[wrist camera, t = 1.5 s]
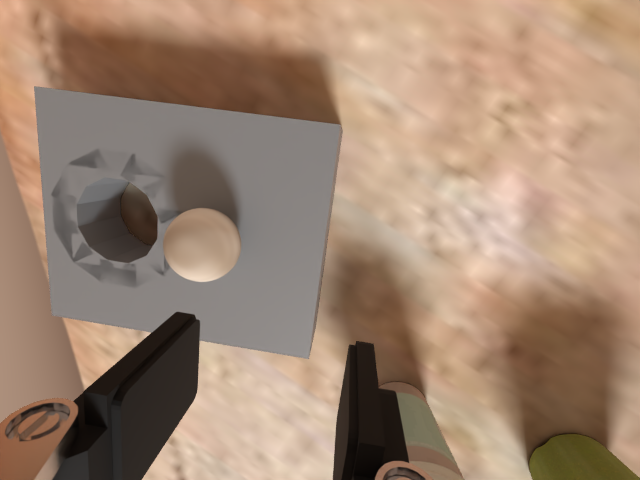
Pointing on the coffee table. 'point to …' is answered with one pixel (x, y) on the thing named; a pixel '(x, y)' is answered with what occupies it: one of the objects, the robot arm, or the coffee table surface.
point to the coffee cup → (423, 434)
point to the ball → (202, 244)
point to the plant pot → (576, 460)
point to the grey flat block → (178, 197)
